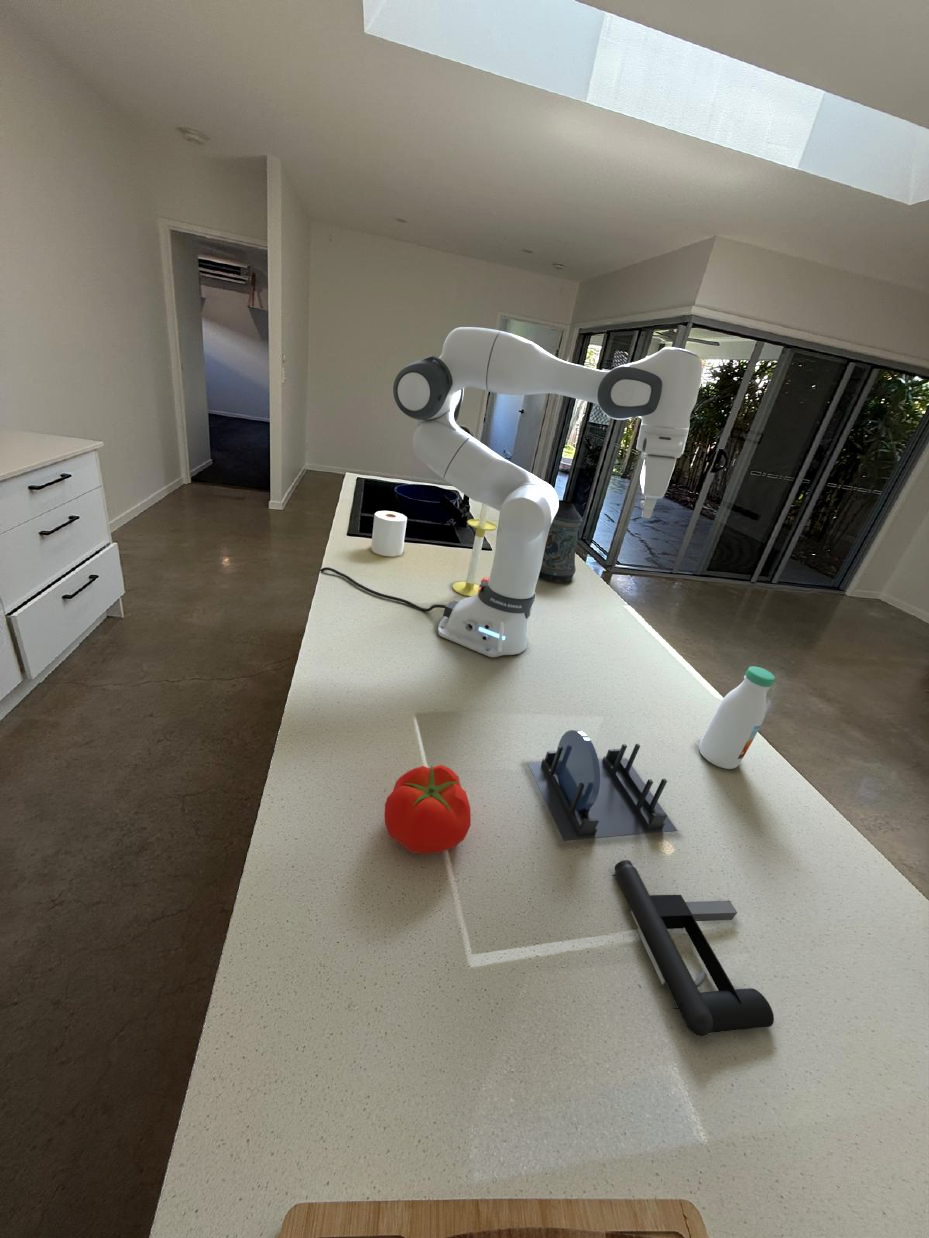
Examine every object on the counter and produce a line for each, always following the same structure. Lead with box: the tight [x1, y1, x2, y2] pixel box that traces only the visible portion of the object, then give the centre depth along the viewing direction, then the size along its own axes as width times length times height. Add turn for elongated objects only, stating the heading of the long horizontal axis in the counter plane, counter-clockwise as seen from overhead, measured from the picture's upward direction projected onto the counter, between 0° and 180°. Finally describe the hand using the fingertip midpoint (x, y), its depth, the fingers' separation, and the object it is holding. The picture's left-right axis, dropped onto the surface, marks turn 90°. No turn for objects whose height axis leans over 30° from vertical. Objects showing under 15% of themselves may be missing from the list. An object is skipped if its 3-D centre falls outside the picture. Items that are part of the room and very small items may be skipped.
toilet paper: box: [370, 510, 408, 558], centre depth 164 cm, size 10×10×12 cm
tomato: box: [384, 764, 472, 855], centre depth 71 cm, size 13×12×8 cm
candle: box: [452, 503, 498, 598], centre depth 143 cm, size 10×10×38 cm
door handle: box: [611, 859, 775, 1037], centre depth 64 cm, size 3×20×16 cm
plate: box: [556, 729, 600, 810], centre depth 79 cm, size 12×1×12 cm, turn 14°
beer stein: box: [538, 499, 583, 584], centre depth 170 cm, size 16×19×25 cm
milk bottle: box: [698, 665, 776, 770], centre depth 96 cm, size 8×8×20 cm
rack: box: [526, 743, 678, 842], centre depth 83 cm, size 16×20×8 cm
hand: (644, 512), depth 105 cm, fingers open, 8 cm apart
